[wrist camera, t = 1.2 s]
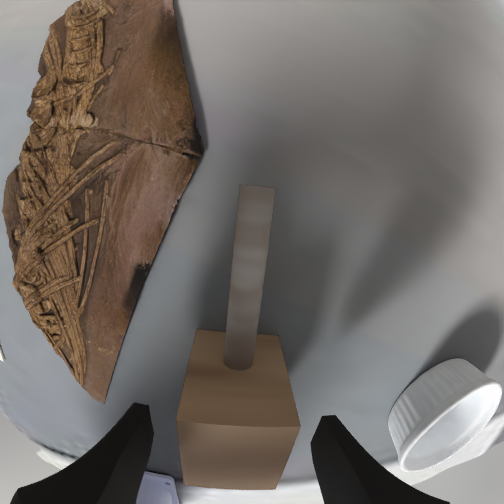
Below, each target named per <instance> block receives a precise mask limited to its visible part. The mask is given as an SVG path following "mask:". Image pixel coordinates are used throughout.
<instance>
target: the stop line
mask: <svg viewBox="0 0 504 504" xmlns="http://www.w3.org/2000/svg"><path fill="white" fill-rule="evenodd" d="M0 360H2V361H5V359H4V356H3V353H2V350H1V347H0Z"/></svg>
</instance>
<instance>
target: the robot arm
mask: <svg viewBox="0 0 504 504" xmlns="http://www.w3.org/2000/svg"><path fill="white" fill-rule="evenodd" d="M153 436H154V432H153V427H152V422H151V416H150V410H149V405H144V404H139V403H133V404H132V405H131V407H130V408H129V409H128V410H127V412H126V413H125V414H124V415H123V417H122V418H121V419H120V420H119V421H118V422H117V424H116V425H115V426H114V427H113V428H112V429H111V430H110V431H109V432H108V433H107V434H106V435H105V436H104V437H103V438H102V439H101V440H100V441H99V442H98V443H97V444H96V445H95V446H94V447H93V448H92V449H90V450H89V451H88V452H87V453H86V454H84V455H83V456H82V457H80V458H79V459H78V460H76V461H75V462H74V463H72V464H70V465H69V466H67V467H66V468H64V469H63V470H61V471H59V472H57V473H56V474H53V475H52V476H49V477H47V478H45V479H43V480H41V481H38V482H36V483H33V484H30V485H27V486H24V487H21V488H18V489H17V491H16V493H15V494H14V496H13V498H12V501H11V503H10V504H179V500H178V496H177V492H176V487H175V482H174V479H173V478H172V477H171V476H167V475H162V474H156V473H151V472H146V471H145V469H146V466H147V463H148V459H149V456H150V452H151V447H152V442H153ZM311 451H312V459H313V464H314V468H315V471H316V475H317V479H318V482H319V486H320V489H321V493H322V496H323V500H324V504H450V503H449V502H447V501H444V500H441V499H438V498H435V497H432V496H430V495H428V494H425V493H423V492H421V491H419V490H417V489H415V488H413V487H412V486H410V485H408V484H406V483H405V482H403V481H401V480H400V479H398V478H397V477H395V476H394V475H393V474H391V473H390V472H389V471H387V470H386V469H385V468H384V467H383V466H381V465H380V464H379V463H378V462H377V461H376V460H375V459H374V458H373V457H372V456H371V455H370V454H369V453H368V452H367V451H366V450H365V449H364V448H363V447H362V446H361V445H360V444H359V443H358V442H357V440H356V439H355V438H354V437H353V436H352V435H351V433H350V432H349V431H348V430H347V429H346V427H345V426H344V425H343V424H342V423H341V421H340V420H339V419H338V418H337V416H336V415H329V416H322V417H321V420H320V422H319V424H318V427H317V429H316V432H315V434H314V436H313V438H312V441H311Z"/></svg>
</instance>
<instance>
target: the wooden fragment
mask: <svg viewBox="0 0 504 504" xmlns="http://www.w3.org/2000/svg"><path fill="white" fill-rule="evenodd" d="M172 2H173V0H80V1H77V2H75V3H74V4H73V5H71V6H70V7H68V9H67V10H66V11H65V14H64V15H63V16H61V17H60V18H59V19H57V20H56V21H55V22H54V23H52V24H51V25H50V27H49V31H50V34H49V36H48V38H47V39H46V41H45V42H46V44H45V46H44V49H43V52H42V54H41V57H40V62H39V67H38V72H39V74H40V75H41V78H40V79H39V81H38V82H37V85H36V87H35V88H34V89H33V92H32V96H31V98H32V101H31V105H30V107H29V108H28V110H27V116H28V117H30V118H31V119H32V121H34V123H33V124H32V125H31V127H30V134H29V136H28V137H27V138H26V141H25V142H24V144H23V149H22V151H21V153H20V157H19V160H20V166H18V167H17V168H16V169H15V170H14V171H12V172H11V173H10V175H9V176H8V177H7V181H6V186H5V191H4V202H3V209H2V213H3V215H4V220H5V224H6V228H7V235H8V238H9V247H10V249H11V251H12V253H13V255H12V259H13V262H14V269H15V276H14V278H13V286H14V287H15V289H16V291H18V292H19V294H20V295H21V297H22V299H23V302H24V305H25V307H26V309H27V310H29V313H30V316H31V318H32V321H33V323H34V324H35V325H36V327H37V328H39V329H41V330H42V332H43V334H44V335H45V337H46V338H47V340H48V342H49V344H50V345H51V346H52V347H53V349H54V350H55V352H56V353H57V355H58V354H59V355H60V357H62V358H63V360H64V361H65V362H66V364H67V366H68V367H69V369H70V372H71V373H72V375H73V377H74V378H75V379H76V380H77V382H78V383H79V384H80V385H81V386H82V387H83V388H84V389H85V390H86V391H87V392H88V393H89V394H90V396H91V397H92V398H93V399H95V400H97V401H99V402H101V403H103V404H104V401H105V398H106V395H107V390H108V386H109V383H110V380H111V377H112V373H113V370H114V366H115V363H116V361H117V356H118V353H119V351H120V348H121V345H122V342H123V338H124V336H125V332H126V329H127V326H128V324H129V321H130V318H131V315H132V312H133V310H134V307H135V303H136V301H137V296H138V294H139V292H140V290H141V287H142V285H143V281H144V280H145V278H146V274H147V272H148V270H149V268H150V266H151V264H152V260H153V258H154V256H155V253H156V252H157V249H158V246H159V244H160V243H161V239H162V237H163V235H164V233H165V230H166V228H167V226H168V224H169V221H170V218H171V214H172V212H173V211H174V209H175V207H174V206H175V205H177V199H180V197H181V195H182V193H183V191H184V190H185V187H186V185H187V183H188V181H189V179H190V177H191V175H192V173H193V171H194V169H195V167H196V165H197V163H198V161H199V159H196V160H194V159H192V158H189V157H188V156H186V155H182V154H183V153H184V152H187V153H190V154H192V157H193V156H194V155H196V157H198V158H200V157H201V156H202V155H203V151H204V149H203V145H202V142H201V136H200V135H199V132H198V128H196V120H195V114H194V110H193V106H192V102H191V99H190V92H189V88H188V81H187V76H186V72H185V68H184V66H183V64H184V62H183V58H182V53H181V47H180V42H179V36H178V31H177V26H176V19H175V17H174V9H173V7H172V5H173V4H172Z"/></svg>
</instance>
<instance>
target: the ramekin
mask: <svg viewBox="0 0 504 504" xmlns="http://www.w3.org/2000/svg"><path fill="white" fill-rule="evenodd" d="M501 396H502V387H501V384H500V383H499V382H497V381H496V380H494V379H491V378H489V377H487V376H486V375H485V374H484V373H482V372H481V371H480V370H479V369H477V368H476V367H475V366H474V365H472V364H471V363H469V362H468V361H466V360H464V359H458V358H456V359H450V360H447V361H444V362H442V363H440V364H437V365H436V366H434V367H432V368H431V369H429V370H428V371H426V372H425V373H423V374H422V375H421V376H419V377H418V378H417V379H416V380H415V381H414V382H413V383H411V384H410V385H409V386H408V387H407V389H406V390H405V391H404V392H403V393H402V394H401V395H400V397H399V398H398V400H397V401H396V402H395V404H394V406H393V408H392V410H391V412H390V415H389V419H388V426H389V431H390V434H391V437H392V439H393V442H394V445H395V447H396V450H397V453H398V461H399V466H400V468H401V469H402V470H403V471H405V472H418V471H423V470H426V469H429V468H431V467H433V466H436V465H437V464H440V463H442V462H443V461H445V460H447V459H448V458H450V457H451V456H453V455H454V454H456V453H457V452H459V451H460V450H461V449H462V448H464V447H465V446H466V445H467V444H468V443H469V442H471V441H472V440H473V439H474V438H475V437H476V436H477V435H478V434H479V432H480V431H481V430H482V429H483V428H484V427H485V425H486V424H487V423H488V422H489V420H490V419H491V417H492V416H493V414H494V413H495V411H496V409H497V407H498V405H499V402H500V399H501Z"/></svg>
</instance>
